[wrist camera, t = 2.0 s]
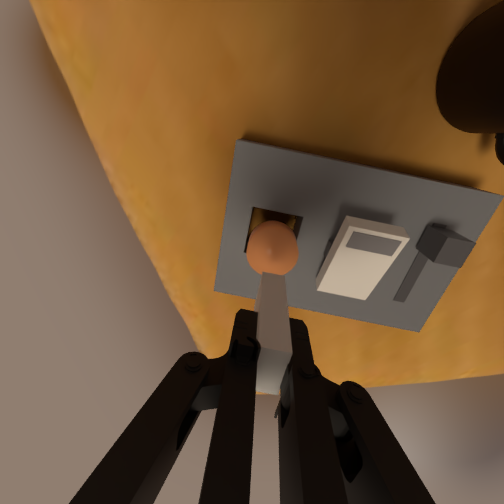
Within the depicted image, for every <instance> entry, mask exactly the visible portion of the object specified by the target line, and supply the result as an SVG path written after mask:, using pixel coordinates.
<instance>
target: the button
mask: <svg viewBox="0 0 504 504" xmlns="http://www.w3.org/2000/svg"><path fill="white" fill-rule="evenodd" d="M246 255H247V260H248V262H249V264H250V266H251V267H252V268H253V269H254V270H255V271H256V272H257V273H259V274H261V275H262V272H268V273H273V274H278V275H284V274H286V273H288V272H289V271H290V270H292V268H293V267H294V266H295V264H296V263H297V260H298V255H299V252H298V246H297V242H296V237H295V234H294V232H293V231H292V229H291V228H290V227H289V226H287V225H286V224H284V223H282V222H279V221H277V220H268V221H266V222H263V223H261V224H259V225H258V226H257V227H255V228H254V230H253V231H252V233H251V235H250V238H249V242H248V246H247V252H246Z"/></svg>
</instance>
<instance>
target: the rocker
mask: <svg viewBox="0 0 504 504" xmlns="http://www.w3.org/2000/svg"><path fill="white" fill-rule="evenodd" d="M409 239H410V237H409V236H408V234H407V232H406V231H405V229H404V227H400V226H395V225H390V224H385V223H380V222H376V221H371V220H366V219H361V218H356V217H351V216H347V215H346V217H345V219H344V221H343V223H342V225H341V227H340V230H339V232H338V234H337V236H336V238H335V240H334V242H333V244H332V246H331V248H330V250H329V253H328V255H327V257H326V259H325V261H324V263H323V265H322V267H321V269H320V271H319V273H318V275H317V278H316V286H317V291H322V292H327V293H332V294H337V295H342V296H347V297H352V298H357V299H361V300H366V299H367V297H368V296H369V295H370V293H371V292H372V290H373V289H374V288H375V286H376V285H377V284H378V282H379V281H380V279H381V278H382V277H383V275H384V274H385V272H386V271H387V270H388V268H389V267H390V266H391V264H392V263H393V261H394V260H395V259H396V257H397V256H398V255H399V253H400V252H401V250H402V249H403V248H404V246H405V245H406V243H407V242H408V241H409Z"/></svg>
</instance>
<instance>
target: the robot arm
mask: <svg viewBox="0 0 504 504" xmlns="http://www.w3.org/2000/svg"><path fill="white" fill-rule="evenodd" d="M308 335H309V334H308V329H307V326H306V325H305V323H304V322H303V320H298V319H293V318H289V313H288V303H287V293H286V283H285V276H283V275H278V274H273V273H268V272H262V276H261V280H260V284H259V288H258V293H257V297H256V301H255V306H254V311H250V310H245V309H240V310H239V311H238V312H237V313H236V316H235V321H234V326H233V331H232V336H231V341H230V346H229V350H228V351H227V353H226V354H225V355H223V356H221V357H219V358H214V359H208V358H207V357H206V356H205V355H204V354H202V353H199V352H188V353H186V354H183V355H182V356H181V357H180V358H179V359H178V361H177V362H176V363H175V364H174V366H173V367H172V368H171V370H170V371H169V372H168V374H167V375H166V376H165V378H164V379H163V380H162V382H161V383H160V384H159V386H158V387H157V388H156V390H155V391H154V392H153V393H152V395H151V396H150V397H149V399H148V400H147V401H146V403H145V404H144V405H143V407H142V408H141V409H140V411H139V412H138V413H137V415H136V416H135V417H134V419H133V420H132V421H131V422H130V424H129V425H128V426H127V428H126V429H125V430H124V432H123V433H122V434H121V436H120V437H119V438H118V439H117V441H116V442H115V443H114V445H113V446H112V447H111V449H110V450H109V452H108V453H107V454H106V455H105V457H104V458H103V459H102V461H101V462H100V463H99V465H98V466H97V467H96V468H95V470H94V471H93V472H92V474H91V475H90V476H89V478H88V479H87V480H86V482H85V483H84V484H83V486H82V487H81V488H80V490H79V491H78V492H77V494H76V495H75V496H74V497H73V499H72V500H71V501H70V503H69V504H153V503H154V501H155V499H156V497H157V495H158V494H159V492H160V490H161V488H162V486H163V484H164V481H165V480H166V478H167V476H168V474H169V472H170V470H171V469H172V467H173V465H174V463H175V461H176V459H177V457H178V455H179V453H180V451H181V449H182V447H183V445H184V443H185V442H186V440H187V438H188V436H189V434H190V432H191V430H192V428H193V426H194V424H195V422H196V420H197V418H198V417H199V415H200V413H201V411H202V410H208V409H214V408H217V412H216V416H215V421H214V427H213V432H212V437H211V442H210V447H209V453H208V457H207V462H206V467H205V473H204V478H203V483H202V489H201V493H200V498H199V503H198V504H249V498H250V481H251V465H252V447H253V430H254V411H255V394H256V391H258V392H263V393H268V394H273V395H278V393H279V390H280V393H281V398H280V401H279V403H278V406H277V409H276V412H275V416H274V417H275V418H277V415H278V429H279V430H278V431H279V474H280V504H435V502H434V500H433V499H432V497H431V495H430V494H429V492H428V490H427V489H426V487H425V485H424V484H423V482H422V481H421V479H420V477H419V476H418V474H417V472H416V471H415V469H414V467H413V466H412V464H411V462H410V461H409V459H408V457H407V456H406V454H405V452H404V451H403V449H402V447H401V446H400V444H399V443H398V441H397V439H396V438H395V436H394V434H393V433H392V431H391V429H390V428H389V426H388V424H387V423H386V421H385V419H384V418H383V416H382V414H381V413H380V411H379V410H378V408H377V407H376V405H375V403H374V401H373V400H372V398H371V396H370V395H369V393H368V392H367V391H366V390H365V389H364V388H363V387H362V386H361V385H359V384H357V383H355V382H352V381H345V382H343V383H342V384H341V385H338V384H336V383H334V382H332V381H330V380H328V379H326V378H325V377H323V376H322V375H321V372H320V370H319V369H318V367H317V366H316V365H315V364H314V360H313V355H312V350H311V345H310V339H309V336H308Z"/></svg>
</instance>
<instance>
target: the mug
mask: <svg viewBox="0 0 504 504" xmlns="http://www.w3.org/2000/svg"><path fill="white" fill-rule="evenodd" d="M437 99H438V104H439V107H440V110H441V112H442V114H443V115H444V117H445V118H446V120H447V121H448V122H449V123H450V124H451V125H452V126H454V127H456V128H457V129H459V130H462V131H465V132H469V133H496V135H495V139H496V144H495V151H496V155H497V158H498V159H499V161H500V162H501V163H502V164H503V165H504V1H502V2H500V3H498V4H497V5H495V6H493V7H491V8H490V9H488V10H486V11H485V12H483V13H482V14H481V15H479V16H478V17H477V18H475V19H474V20H473V21H472V22H471V23H470V24H469V25H468V26H467V27H466V28H465V29H464V30H463V31H462V32H461V34H460V35H459V36H458V37H457V38H456V40H455V41H454V43H453V44H452V46H451V48H450V49H449V51H448V53H447V55H446V57H445V59H444V61H443V64H442V66H441V69H440V73H439V77H438V83H437Z"/></svg>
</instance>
